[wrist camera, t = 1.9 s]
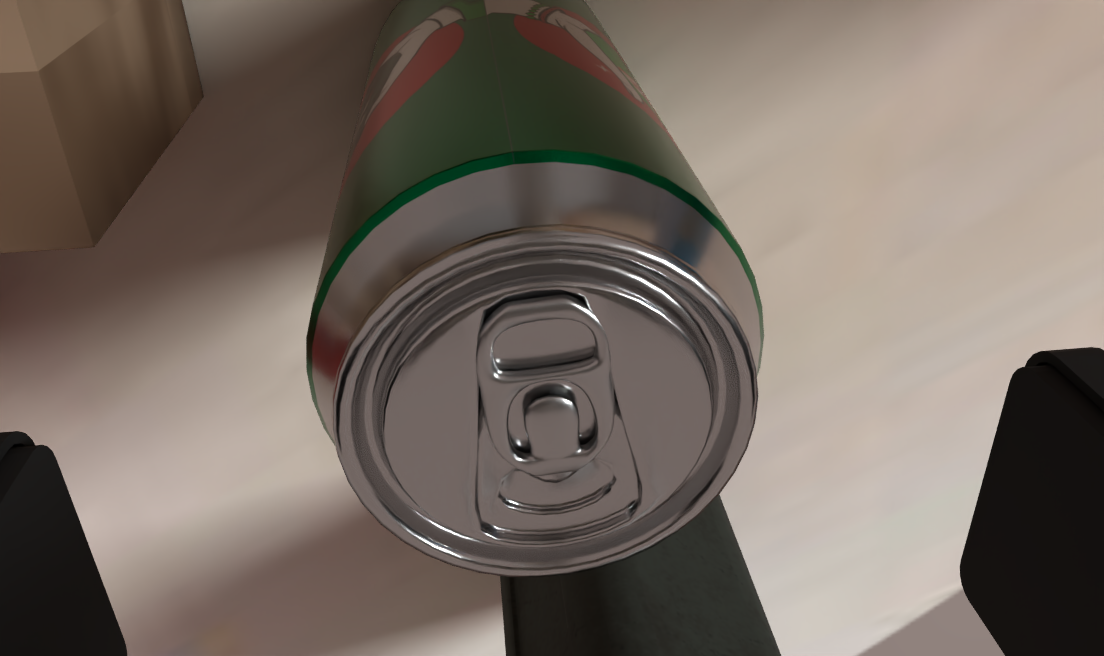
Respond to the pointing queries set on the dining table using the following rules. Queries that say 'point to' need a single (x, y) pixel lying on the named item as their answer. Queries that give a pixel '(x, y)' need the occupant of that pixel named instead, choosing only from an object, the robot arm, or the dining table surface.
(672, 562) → the black handled stick
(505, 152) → the soda can
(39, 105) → the well block
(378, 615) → the dining table surface
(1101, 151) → the dining table surface
